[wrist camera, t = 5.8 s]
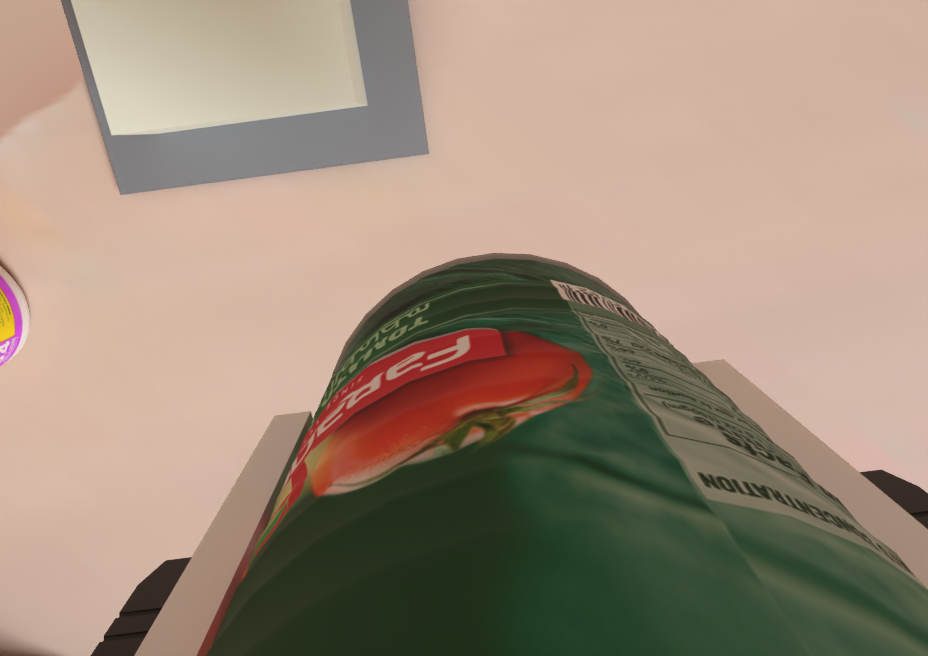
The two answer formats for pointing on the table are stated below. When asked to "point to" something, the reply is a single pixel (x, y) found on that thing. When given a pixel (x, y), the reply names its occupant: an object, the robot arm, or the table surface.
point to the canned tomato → (551, 497)
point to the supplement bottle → (12, 317)
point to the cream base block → (219, 60)
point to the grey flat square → (285, 120)
